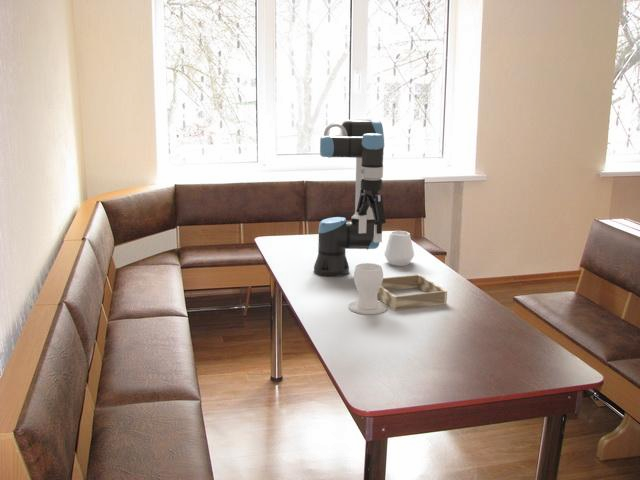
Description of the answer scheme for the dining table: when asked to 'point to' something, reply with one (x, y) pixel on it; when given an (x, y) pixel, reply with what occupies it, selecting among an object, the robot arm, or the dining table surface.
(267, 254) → the dining table surface
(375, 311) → the disc
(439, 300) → the corral
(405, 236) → the cup
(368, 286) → the cup
